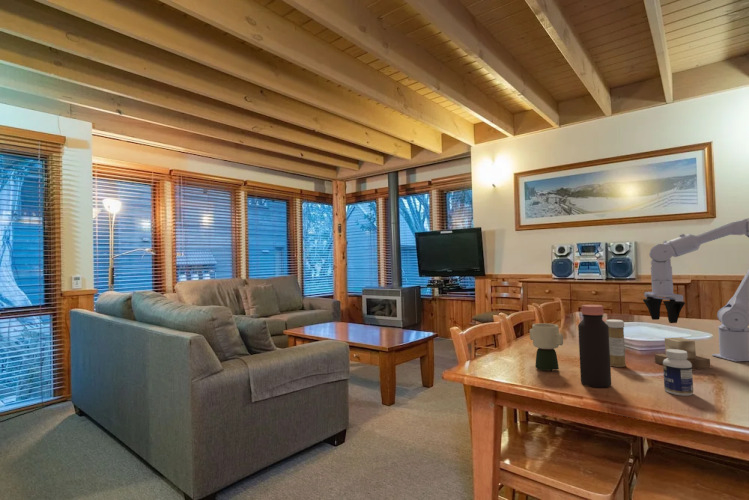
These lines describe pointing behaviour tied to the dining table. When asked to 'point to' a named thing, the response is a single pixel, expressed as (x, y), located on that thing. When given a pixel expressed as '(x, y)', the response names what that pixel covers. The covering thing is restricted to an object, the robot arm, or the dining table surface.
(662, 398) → the dining table surface
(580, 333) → the vinegar
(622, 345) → the sprinkles bottle
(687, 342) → the maple cube
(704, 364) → the walnut block
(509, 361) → the dining table surface
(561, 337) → the character mug
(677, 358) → the pill bottle
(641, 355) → the dining table surface
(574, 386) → the dining table surface
